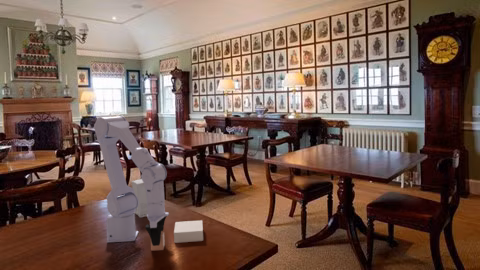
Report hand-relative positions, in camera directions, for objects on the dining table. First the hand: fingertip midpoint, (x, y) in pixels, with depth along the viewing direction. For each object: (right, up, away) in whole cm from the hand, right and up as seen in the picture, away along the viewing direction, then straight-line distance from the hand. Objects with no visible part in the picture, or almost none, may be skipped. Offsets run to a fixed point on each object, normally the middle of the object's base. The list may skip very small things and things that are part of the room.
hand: (157, 240), depth 114 cm
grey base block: (+9, -2, +9) cm, 13 cm away
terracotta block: (0, -3, 0) cm, 3 cm away
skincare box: (-14, +1, +33) cm, 36 cm away
